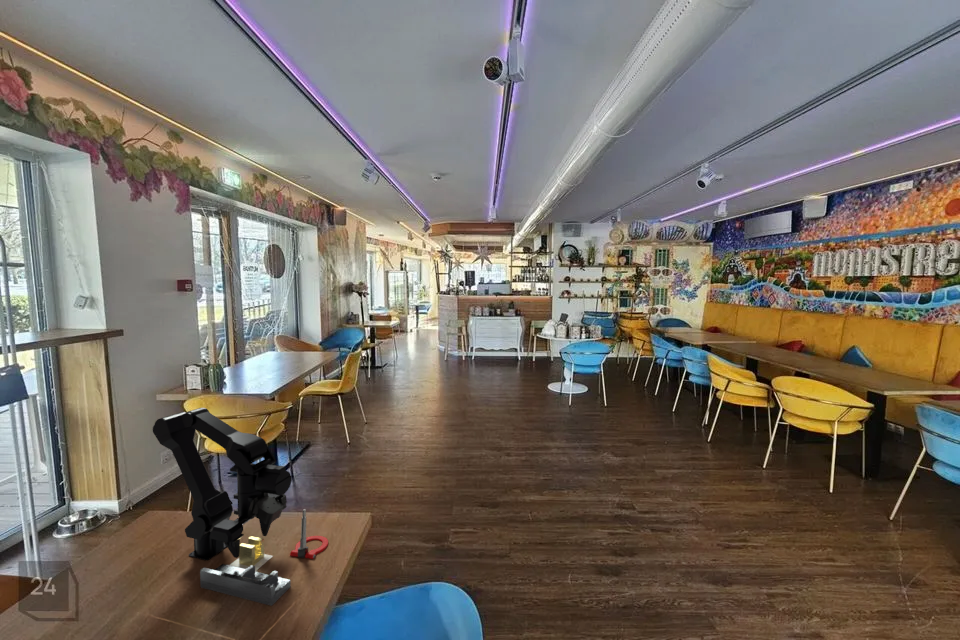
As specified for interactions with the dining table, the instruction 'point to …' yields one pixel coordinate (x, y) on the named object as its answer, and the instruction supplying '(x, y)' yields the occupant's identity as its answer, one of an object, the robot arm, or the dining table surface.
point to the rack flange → (245, 583)
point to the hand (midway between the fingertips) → (251, 546)
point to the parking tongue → (257, 565)
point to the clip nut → (251, 551)
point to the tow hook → (301, 547)
